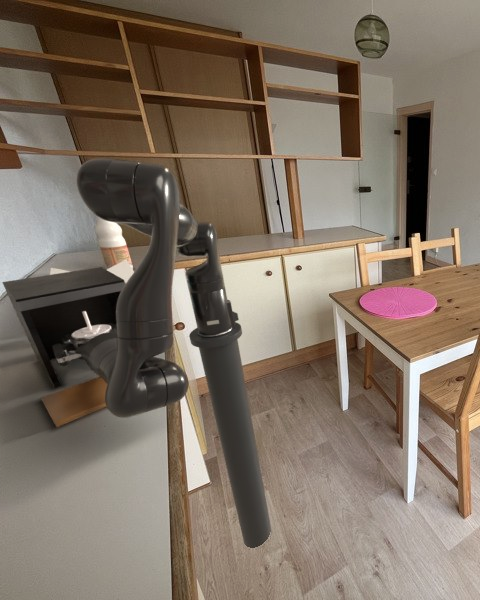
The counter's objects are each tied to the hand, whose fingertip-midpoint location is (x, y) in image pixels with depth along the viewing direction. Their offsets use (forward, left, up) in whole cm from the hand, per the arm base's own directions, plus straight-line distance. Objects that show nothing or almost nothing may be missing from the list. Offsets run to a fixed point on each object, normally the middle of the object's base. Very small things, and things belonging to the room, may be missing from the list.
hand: (90, 332), depth 69 cm
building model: (-14, -59, -12) cm, 62 cm away
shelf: (0, -11, -11) cm, 16 cm away
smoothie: (0, +2, -9) cm, 9 cm away
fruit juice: (-31, -100, -12) cm, 105 cm away
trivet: (+4, +7, -11) cm, 14 cm away
